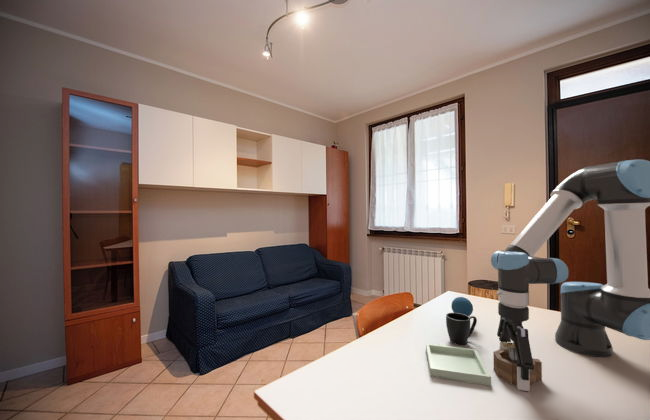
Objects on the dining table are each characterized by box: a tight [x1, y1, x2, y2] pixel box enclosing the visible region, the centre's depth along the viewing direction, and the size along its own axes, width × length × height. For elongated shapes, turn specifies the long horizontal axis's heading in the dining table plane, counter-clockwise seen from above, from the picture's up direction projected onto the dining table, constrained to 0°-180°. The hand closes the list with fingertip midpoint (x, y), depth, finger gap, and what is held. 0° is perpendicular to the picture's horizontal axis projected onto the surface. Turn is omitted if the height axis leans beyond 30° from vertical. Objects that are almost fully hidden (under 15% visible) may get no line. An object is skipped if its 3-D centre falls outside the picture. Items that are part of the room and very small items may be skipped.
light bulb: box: [451, 296, 474, 317], centre depth 118 cm, size 8×8×12 cm
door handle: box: [503, 342, 519, 364], centre depth 81 cm, size 5×5×10 cm
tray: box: [425, 343, 492, 387], centre depth 86 cm, size 16×16×2 cm
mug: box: [445, 312, 478, 346], centre depth 103 cm, size 8×12×10 cm
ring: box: [493, 348, 543, 387], centre depth 81 cm, size 12×10×6 cm
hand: (513, 375), depth 81 cm, fingers open, 13 cm apart
